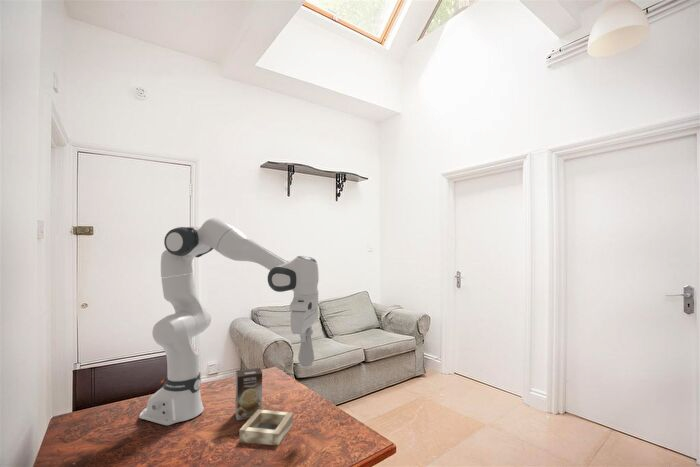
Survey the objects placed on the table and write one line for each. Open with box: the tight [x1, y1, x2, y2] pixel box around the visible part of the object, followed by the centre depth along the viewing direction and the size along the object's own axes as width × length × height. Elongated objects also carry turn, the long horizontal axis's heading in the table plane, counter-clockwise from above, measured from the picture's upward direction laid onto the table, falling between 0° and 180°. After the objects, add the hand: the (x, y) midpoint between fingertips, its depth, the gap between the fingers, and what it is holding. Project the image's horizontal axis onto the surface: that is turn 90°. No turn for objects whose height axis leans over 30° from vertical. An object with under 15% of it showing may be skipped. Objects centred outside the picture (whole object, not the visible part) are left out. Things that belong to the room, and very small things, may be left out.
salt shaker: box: [297, 328, 315, 368], centre depth 123 cm, size 6×6×13 cm
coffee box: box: [235, 367, 263, 421], centre depth 130 cm, size 9×6×16 cm
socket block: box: [238, 409, 294, 446], centre depth 118 cm, size 14×14×4 cm
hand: (305, 339), depth 124 cm, fingers closed on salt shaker, 3 cm apart
